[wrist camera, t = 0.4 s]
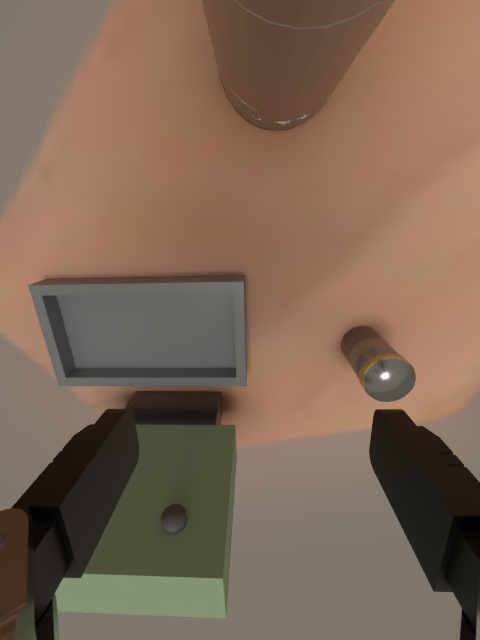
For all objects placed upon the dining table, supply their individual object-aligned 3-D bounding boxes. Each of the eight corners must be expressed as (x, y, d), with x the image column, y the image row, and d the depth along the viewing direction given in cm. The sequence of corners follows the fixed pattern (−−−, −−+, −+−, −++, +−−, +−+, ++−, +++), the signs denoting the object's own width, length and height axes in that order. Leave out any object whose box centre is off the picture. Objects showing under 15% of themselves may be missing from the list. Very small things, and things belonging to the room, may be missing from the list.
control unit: (117, 383, 33) (-22, 563, 16) (238, 383, 32) (222, 572, 16) (124, 417, 35) (6, 611, 18) (239, 418, 34) (226, 620, 17)
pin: (342, 325, 29) (367, 359, 23) (384, 325, 29) (421, 359, 23) (338, 361, 31) (360, 402, 24) (377, 361, 31) (411, 402, 24)
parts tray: (46, 279, 29) (28, 285, 26) (244, 275, 28) (243, 281, 25) (72, 373, 33) (59, 385, 30) (246, 372, 32) (246, 386, 29)
